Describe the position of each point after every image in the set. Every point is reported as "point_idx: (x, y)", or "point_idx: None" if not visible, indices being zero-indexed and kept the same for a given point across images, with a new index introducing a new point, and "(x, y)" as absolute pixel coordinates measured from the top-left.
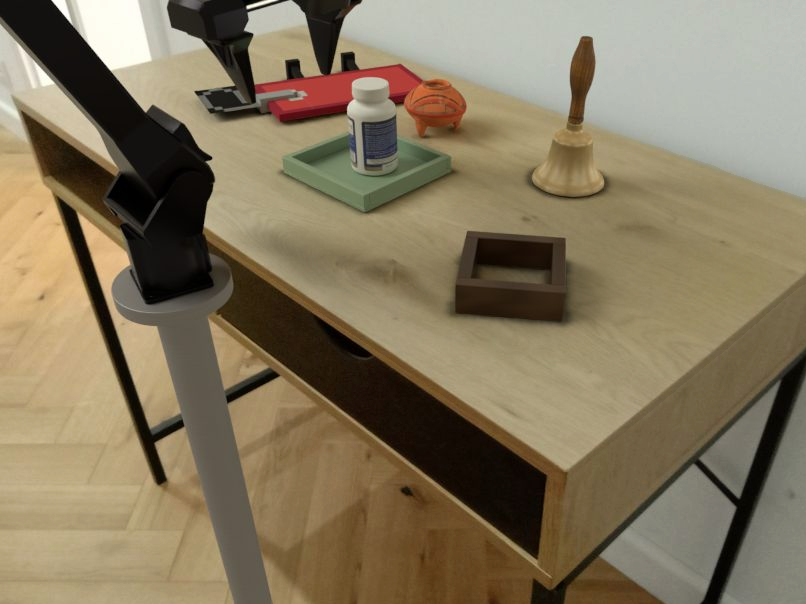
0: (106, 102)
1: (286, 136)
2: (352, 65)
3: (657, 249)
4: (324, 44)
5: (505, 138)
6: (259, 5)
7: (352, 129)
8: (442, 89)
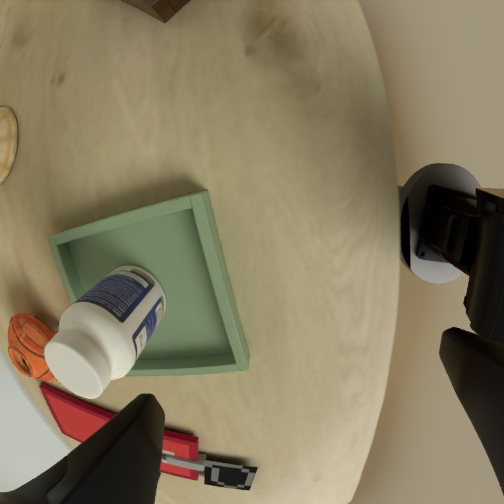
0: None
1: (203, 416)
2: None
3: (36, 5)
4: (119, 471)
5: (4, 269)
6: None
7: (141, 332)
8: (15, 347)
